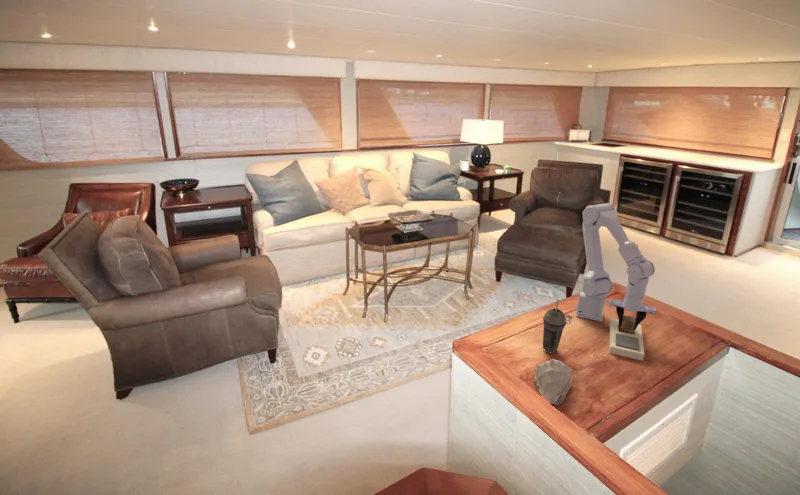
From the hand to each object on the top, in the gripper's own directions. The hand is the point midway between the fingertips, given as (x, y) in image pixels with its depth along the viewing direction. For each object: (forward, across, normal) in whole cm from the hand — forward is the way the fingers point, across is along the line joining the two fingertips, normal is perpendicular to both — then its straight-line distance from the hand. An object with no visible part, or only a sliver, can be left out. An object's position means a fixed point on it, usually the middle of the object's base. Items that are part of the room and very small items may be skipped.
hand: (626, 327), depth 150 cm
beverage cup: (+4, -24, -21) cm, 32 cm away
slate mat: (+1, 0, -9) cm, 9 cm away
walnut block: (+3, 0, 0) cm, 3 cm away
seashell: (+4, -19, -41) cm, 46 cm away
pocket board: (+3, 0, -4) cm, 5 cm away
